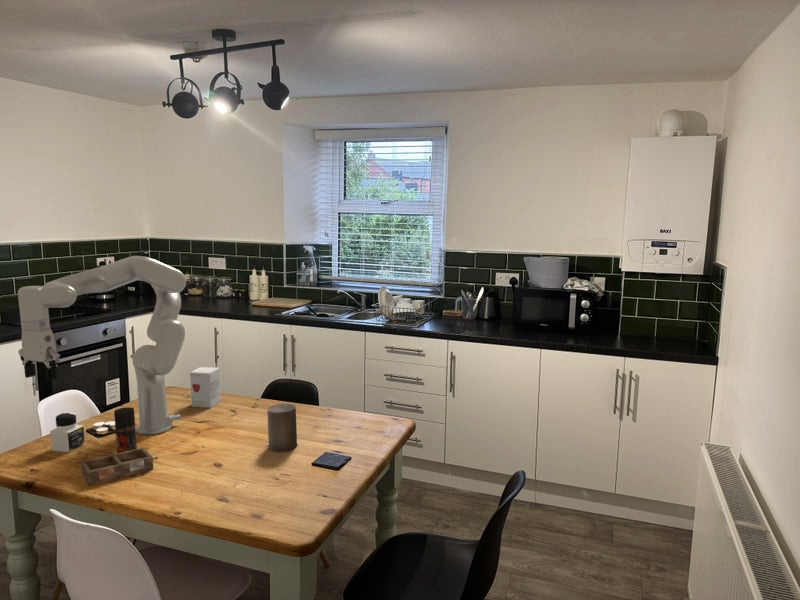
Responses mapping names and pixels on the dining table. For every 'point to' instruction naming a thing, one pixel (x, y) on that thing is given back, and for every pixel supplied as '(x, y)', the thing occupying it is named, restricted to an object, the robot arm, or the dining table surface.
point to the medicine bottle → (67, 433)
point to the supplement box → (205, 387)
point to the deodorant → (125, 429)
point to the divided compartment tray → (116, 466)
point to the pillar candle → (282, 427)
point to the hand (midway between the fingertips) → (41, 378)
